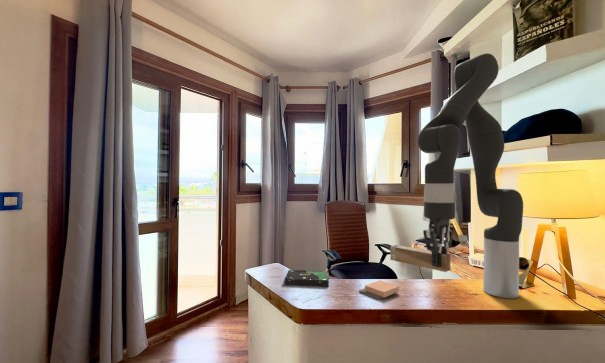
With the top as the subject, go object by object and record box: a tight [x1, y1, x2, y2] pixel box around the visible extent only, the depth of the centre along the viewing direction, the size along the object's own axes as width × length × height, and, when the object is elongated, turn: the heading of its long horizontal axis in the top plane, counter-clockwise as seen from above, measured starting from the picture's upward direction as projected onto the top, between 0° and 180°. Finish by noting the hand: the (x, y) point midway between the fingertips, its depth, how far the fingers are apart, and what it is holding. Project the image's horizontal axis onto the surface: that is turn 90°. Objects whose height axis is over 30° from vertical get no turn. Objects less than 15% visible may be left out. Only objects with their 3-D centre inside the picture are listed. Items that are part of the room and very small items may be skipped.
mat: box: [358, 287, 384, 301], centre depth 89 cm, size 10×7×1 cm
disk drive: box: [284, 269, 330, 288], centre depth 99 cm, size 10×3×15 cm
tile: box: [364, 280, 400, 299], centre depth 88 cm, size 8×2×7 cm
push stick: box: [389, 244, 451, 273], centre depth 80 cm, size 3×16×4 cm, turn 41°
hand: (439, 264), depth 76 cm, fingers closed on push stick, 3 cm apart
